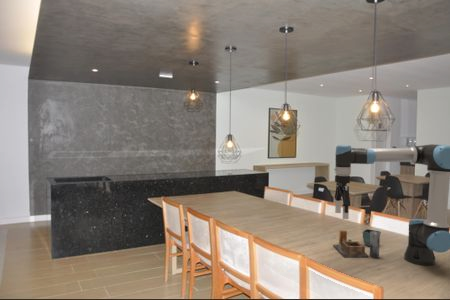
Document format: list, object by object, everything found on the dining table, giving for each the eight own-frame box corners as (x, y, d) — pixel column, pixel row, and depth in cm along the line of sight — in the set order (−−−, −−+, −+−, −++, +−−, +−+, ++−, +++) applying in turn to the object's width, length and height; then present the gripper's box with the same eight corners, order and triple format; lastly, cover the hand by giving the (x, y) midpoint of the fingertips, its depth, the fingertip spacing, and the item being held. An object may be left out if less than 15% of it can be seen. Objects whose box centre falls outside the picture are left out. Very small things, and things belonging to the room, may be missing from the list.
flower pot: (366, 242, 220) (366, 228, 219) (380, 245, 214) (381, 231, 214) (361, 245, 213) (362, 231, 212) (376, 248, 207) (377, 234, 207)
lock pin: (345, 243, 215) (345, 230, 214) (357, 255, 194) (358, 240, 194) (338, 243, 215) (339, 230, 214) (350, 255, 194) (351, 240, 194)
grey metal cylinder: (376, 255, 196) (377, 231, 195) (380, 258, 191) (381, 233, 190) (368, 255, 196) (368, 231, 195) (371, 258, 191) (372, 233, 190)
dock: (355, 246, 210) (355, 237, 210) (368, 257, 191) (369, 247, 191) (333, 246, 210) (333, 237, 210) (344, 257, 191) (344, 247, 191)
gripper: (329, 172, 188) (328, 210, 189) (342, 177, 163) (341, 221, 164) (343, 172, 187) (342, 210, 188) (358, 178, 162) (356, 222, 163)
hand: (341, 215), depth 176 cm, fingers open, 13 cm apart
